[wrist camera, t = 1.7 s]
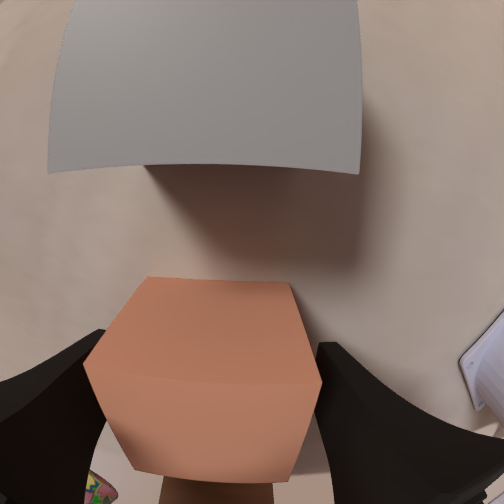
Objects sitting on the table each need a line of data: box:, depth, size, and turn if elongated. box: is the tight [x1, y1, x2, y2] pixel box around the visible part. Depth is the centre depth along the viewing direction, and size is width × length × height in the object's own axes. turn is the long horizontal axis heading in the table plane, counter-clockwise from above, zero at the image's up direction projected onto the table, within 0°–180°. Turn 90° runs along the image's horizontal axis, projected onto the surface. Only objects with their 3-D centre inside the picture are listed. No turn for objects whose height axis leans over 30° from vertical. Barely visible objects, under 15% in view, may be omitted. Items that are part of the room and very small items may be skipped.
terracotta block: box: [83, 276, 322, 483], centre depth 8 cm, size 5×5×5 cm
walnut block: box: [159, 476, 274, 504], centre depth 11 cm, size 5×5×5 cm
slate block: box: [48, 0, 362, 175], centre depth 5 cm, size 5×5×5 cm
